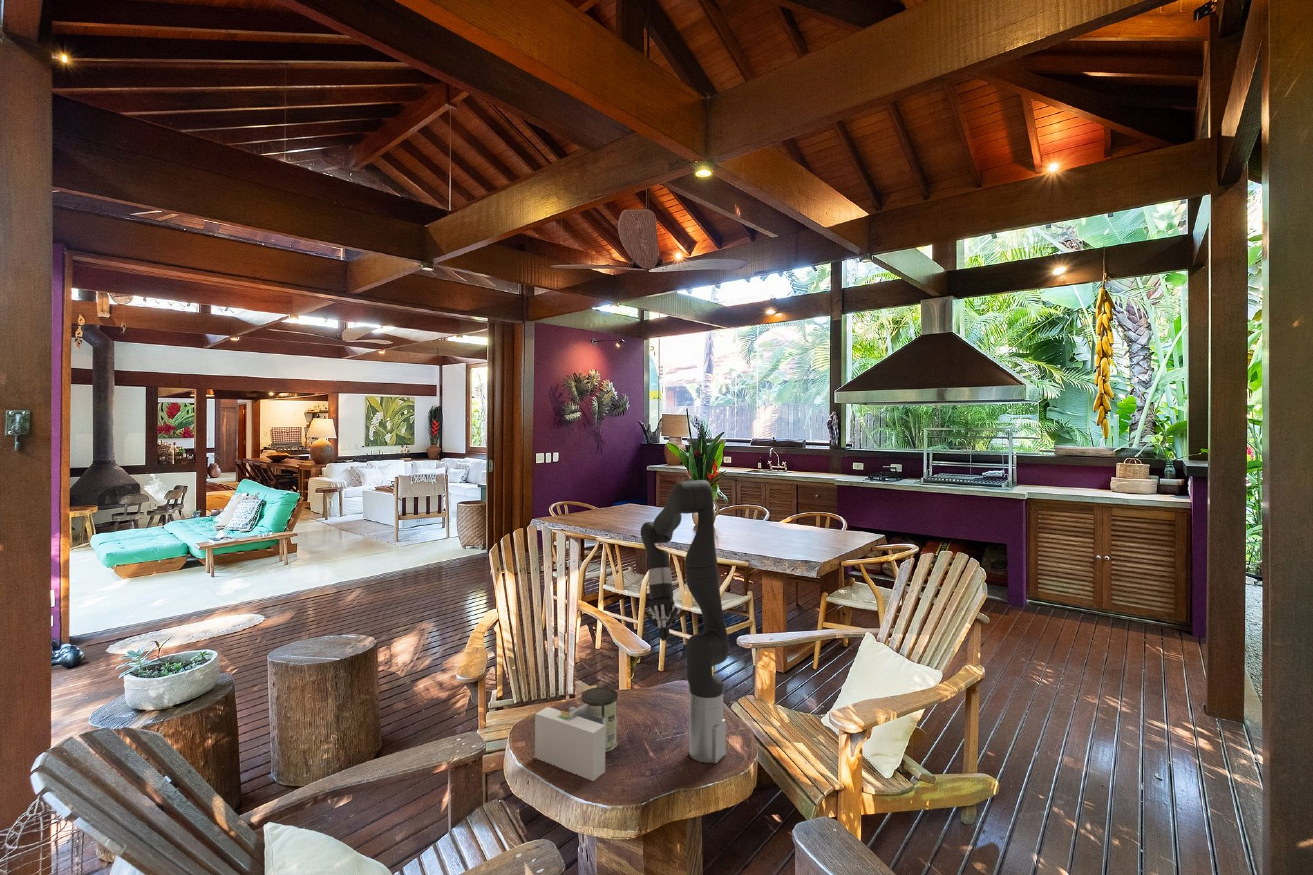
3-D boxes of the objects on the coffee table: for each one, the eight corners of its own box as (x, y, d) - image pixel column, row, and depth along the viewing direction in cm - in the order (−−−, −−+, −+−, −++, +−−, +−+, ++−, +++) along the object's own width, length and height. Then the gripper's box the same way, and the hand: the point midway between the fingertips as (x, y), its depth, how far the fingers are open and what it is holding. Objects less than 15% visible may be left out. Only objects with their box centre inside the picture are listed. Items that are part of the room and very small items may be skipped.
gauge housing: (605, 771, 153) (605, 724, 153) (593, 781, 148) (593, 732, 148) (547, 750, 163) (548, 706, 163) (534, 758, 159) (535, 713, 159)
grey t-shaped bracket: (605, 750, 159) (606, 708, 160) (587, 763, 153) (587, 719, 153) (571, 738, 166) (572, 697, 166) (552, 750, 159) (552, 708, 159)
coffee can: (589, 733, 173) (589, 685, 173) (622, 738, 170) (622, 689, 171) (575, 750, 163) (575, 699, 163) (610, 755, 160) (610, 703, 161)
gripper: (637, 585, 188) (640, 642, 183) (671, 580, 182) (676, 639, 176) (649, 586, 194) (653, 641, 189) (684, 581, 188) (689, 638, 182)
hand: (665, 640), depth 182 cm, fingers closed
